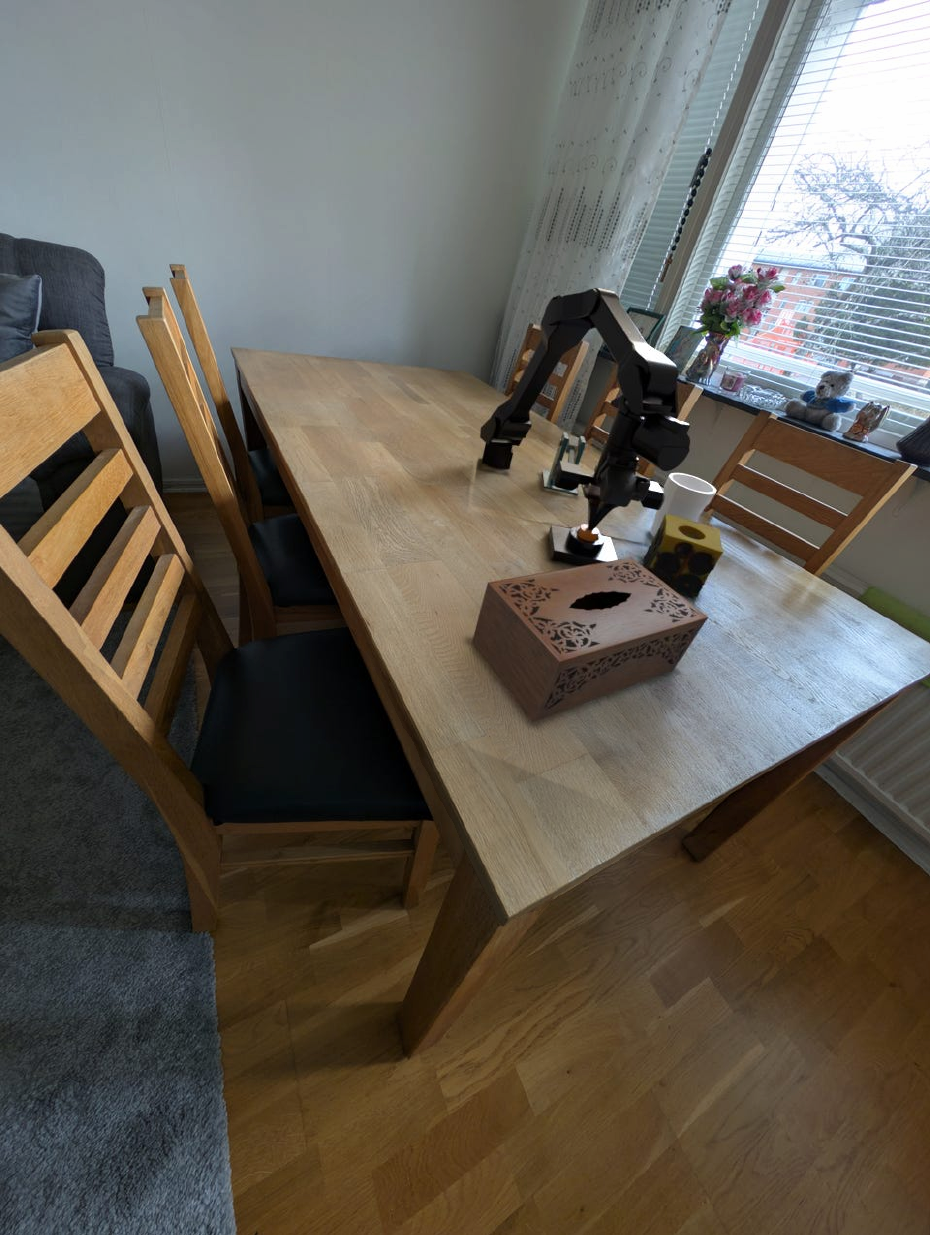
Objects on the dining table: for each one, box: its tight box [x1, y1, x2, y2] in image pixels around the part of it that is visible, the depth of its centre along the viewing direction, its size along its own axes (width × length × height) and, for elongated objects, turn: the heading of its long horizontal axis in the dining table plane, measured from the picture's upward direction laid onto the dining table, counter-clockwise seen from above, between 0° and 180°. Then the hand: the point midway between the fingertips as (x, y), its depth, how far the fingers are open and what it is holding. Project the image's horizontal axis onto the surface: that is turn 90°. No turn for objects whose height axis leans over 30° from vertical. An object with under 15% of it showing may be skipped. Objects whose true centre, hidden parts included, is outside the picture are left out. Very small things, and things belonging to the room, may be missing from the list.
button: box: [577, 523, 600, 541], centre depth 88 cm, size 4×4×2 cm
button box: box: [547, 524, 619, 567], centre depth 90 cm, size 12×10×4 cm
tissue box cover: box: [471, 557, 709, 723], centre depth 64 cm, size 26×14×10 cm, turn 120°
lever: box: [565, 435, 579, 464], centre depth 107 cm, size 13×3×3 cm, turn 175°
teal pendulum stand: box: [541, 431, 587, 496], centre depth 111 cm, size 10×8×12 cm
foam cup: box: [649, 472, 717, 538], centre depth 99 cm, size 10×9×13 cm
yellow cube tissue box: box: [642, 514, 724, 599], centre depth 87 cm, size 10×10×10 cm
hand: (590, 528), depth 88 cm, fingers closed, pressing on button
